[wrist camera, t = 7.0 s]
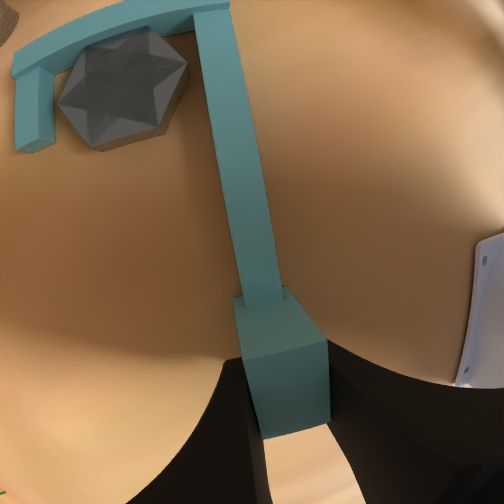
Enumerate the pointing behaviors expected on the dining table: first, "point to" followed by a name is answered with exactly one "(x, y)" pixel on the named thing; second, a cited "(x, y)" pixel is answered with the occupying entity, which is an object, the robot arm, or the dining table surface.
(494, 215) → the dining table surface
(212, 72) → the hook tool
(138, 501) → the robot arm
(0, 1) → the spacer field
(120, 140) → the grey flat hexagonal block
